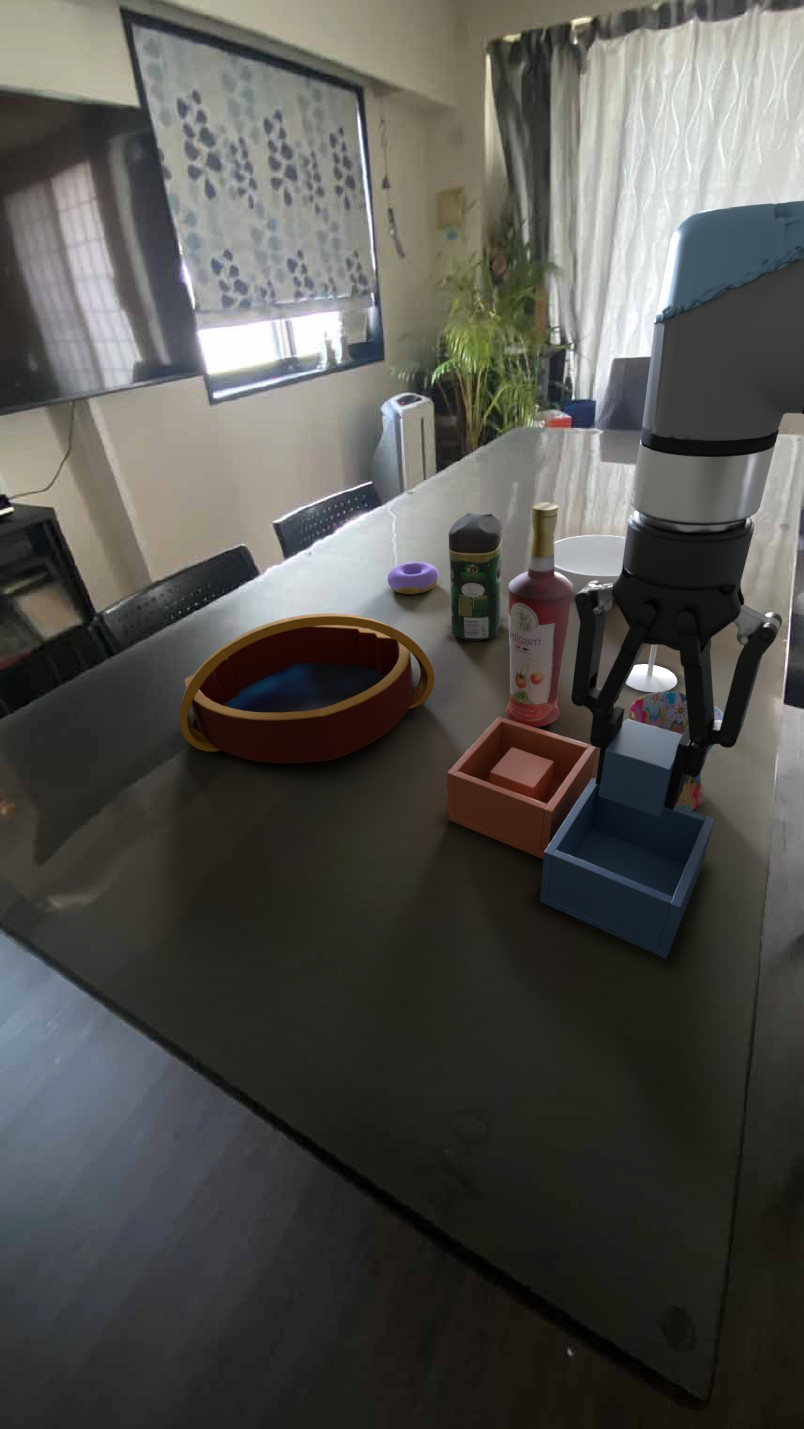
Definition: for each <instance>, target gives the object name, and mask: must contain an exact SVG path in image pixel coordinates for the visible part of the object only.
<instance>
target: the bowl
mask: <svg viewBox="0 0 804 1429" xmlns="http://www.w3.org/2000/svg"><path fill="white" fill-rule="evenodd" d="M625 542H626V536H617V535H612V534H611V535H609V534H585V535H576V536H570V537H566V538H563V539H559V540H556V541H554V563H555V572H557V573H560V574H562V575H563V576H564V577H566V578H567V579H568V580H569V581H570V582H571V583H572V584H573V591H572V593H574V594H575V595H577V594H578V593H579V592H580V591H581V590H582V589H583V588H584V587H585V586H586V585H587V584H588V583H589V582H591V581H597V582H599V583H600V584H601V585H602V584H609V583H614V582H615V581H616V580H617V578H618V577H619V575H620V573H621V571H622V564H623V557H624V549H625Z"/></svg>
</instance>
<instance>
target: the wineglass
mask: <svg viewBox="0 0 804 1429" xmlns="http://www.w3.org/2000/svg"><path fill="white" fill-rule="evenodd" d="M650 647H651V648H650V652H649V658H648V663H647V664H646V663H645V664H644V663H643V664H642V663H641V664H635V665H634V667H633V669H632V671H631V673H630V675H629V677H628V679H627V681H626V683H625V685H627V686H628V687H630V688H632V689H634V690H638V691H641V692H646V693H655V692H668V691H670V690H672V689H674V688H675V687H676V686H677V684H678V678H677V677H676V675H675V673H673V672H672V671H670V670H669V669H667V668H665V667H662V666H658V665H655V662H656V658H657V651H658V645H651V646H650Z"/></svg>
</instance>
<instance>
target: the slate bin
mask: <svg viewBox="0 0 804 1429" xmlns="http://www.w3.org/2000/svg"><path fill="white" fill-rule="evenodd" d="M595 783H596V778H595V777H592V779H591V780H590V782H589V784H588V785H587V787H586V788H585V790H584V791H583V793H582V794H581V796H580V797H579V799H578V801H577V802H576V804H575V805H574V807H573V808H572V810H571V811H570V813H569V814H568V816H567V818H566V819H565V821H564V822H563V824H562V825H561V827H560V828H559V830H558V831H557V833H556V835H555V836H554V838H553V839H552V841H551V842H550V844H549V845H548V847H547V848H546V850H545V851H544V859H543V861H542V862H543V864H542V875H541V887H540V898H539V902H540V903H542V904H544V905H546V906H549V907H550V908H552V909H555V910H557V911H560V912H561V913H563V914H566V915H569V916H571V917H573V918H575V919H577V920H579V921H582V922H584V923H586V924H587V925H591V926H593V927H595V928H597V929H600V930H601V931H604V932H606V933H608V934H611V935H612V936H614V937H617V938H619V939H622V940H623V941H626V942H628V943H630V944H632V945H635V946H636V947H639V948H641V949H643V950H646V951H648V952H650V953H652V954H654V955H657V956H659V957H661V958H663V959H668V955H669V952H670V950H671V948H672V945H673V942H674V940H675V937H676V935H677V932H678V929H679V927H680V925H681V922H682V919H683V917H684V914H685V911H686V909H687V906H688V904H689V901H690V899H691V897H692V893H693V891H694V888H695V885H696V883H697V880H698V878H699V875H700V873H701V870H702V868H703V863H704V860H705V857H706V853H707V849H708V846H709V843H710V839H711V836H712V832H713V829H714V826H715V822H716V818H713V817H711V816H709V815H705V814H702V813H699V812H696V811H694V810H692V811H690V810H687V809H684V808H681V807H678V806H675V807H674V809H673V810H671V809H668V808H665V807H664V809H663V811H662V813H661V815H660V816H659V817H657V816H654V815H652V814H649V813H646V812H643V811H640V810H637V809H634V808H632V807H629V806H626V805H623V804H620V803H617V802H614V801H611V800H609V799H606V798H603V797H600V796H599V793H600V785H597V784H595Z"/></svg>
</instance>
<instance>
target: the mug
mask: <svg viewBox="0 0 804 1429" xmlns="http://www.w3.org/2000/svg"><path fill="white" fill-rule="evenodd" d="M628 713H629V714H628V716H629V720H633V721H636V722H640V723H644V724H647V725H651V726H654V727H658V728H661V729H665V730H668V731H672V732H676V733H679V734H683V733H684V731H685V729H686V727H687V726H689V724H688V713H687V701H686V692H679V691H664V692H649V693H647V694H644V695H641V696H639V697H638V698H637V699H635V700H634V701H633V702H632V704H631V705H630V708H629V712H628ZM723 715H724V712H723V711H722V710H721V709H720V708H719V707H717V706H716V705H715V704H714V717H715V720H722V719H723ZM714 745H715V744H712V745H710V746H709V748H708V752H707V755H708V754H709V752H710V751H711V750H712V749H713V747H714ZM701 774H702V771H701V772H700V774H699V775H698V776H697V777H692V776H689V775H686V777H685V782H684V786H683V790H682V792H681V794H680V797H679V799H678V801H677V803H676V805H675V806H678V807H681V808H684V809H687V810H690V811H694V810H696V809H697V808H699V806H700V805H701V804H702V802H703V800H704V797H705V791H704V787H703V785H702V782H701V780H702V779H701Z"/></svg>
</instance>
